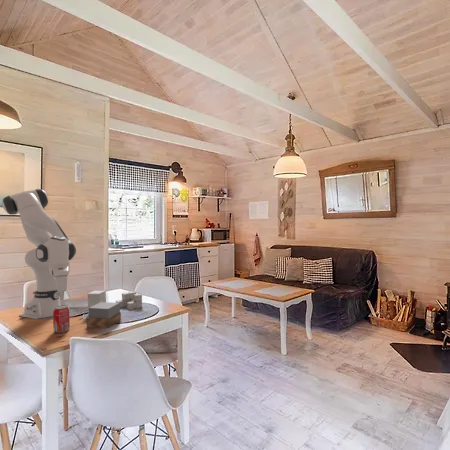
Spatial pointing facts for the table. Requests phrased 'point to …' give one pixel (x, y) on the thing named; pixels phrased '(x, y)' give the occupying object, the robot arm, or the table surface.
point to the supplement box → (96, 298)
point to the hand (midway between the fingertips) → (61, 297)
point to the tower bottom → (103, 321)
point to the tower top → (104, 310)
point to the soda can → (61, 319)
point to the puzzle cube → (130, 300)
